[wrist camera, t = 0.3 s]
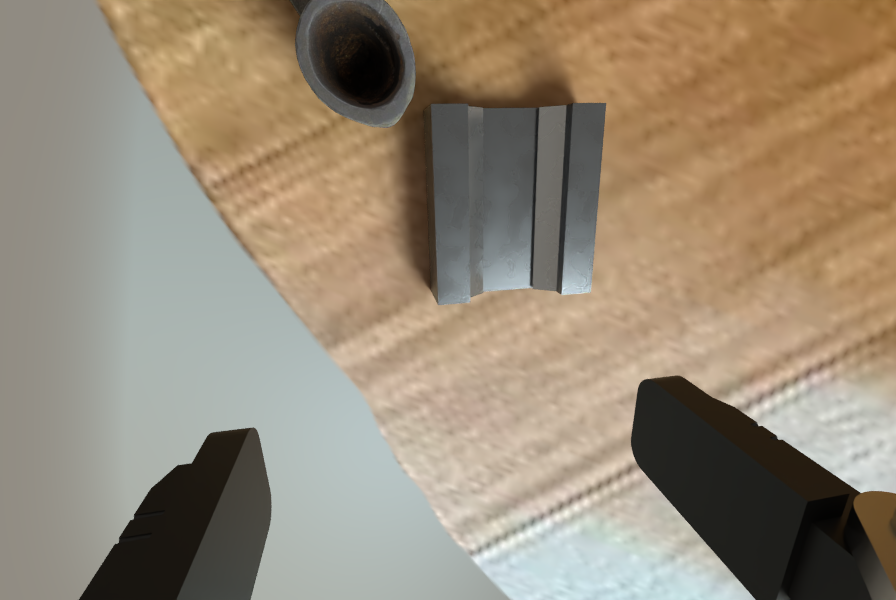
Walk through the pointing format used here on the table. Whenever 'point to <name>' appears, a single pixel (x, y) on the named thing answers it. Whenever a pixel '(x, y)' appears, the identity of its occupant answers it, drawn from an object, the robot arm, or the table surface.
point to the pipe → (356, 58)
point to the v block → (512, 197)
